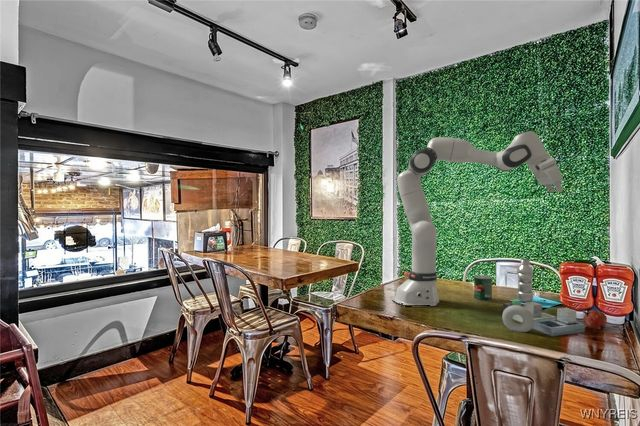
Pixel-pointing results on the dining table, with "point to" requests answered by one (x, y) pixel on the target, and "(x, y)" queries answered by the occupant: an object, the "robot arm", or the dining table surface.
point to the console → (509, 305)
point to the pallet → (557, 327)
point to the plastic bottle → (525, 281)
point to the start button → (516, 302)
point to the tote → (544, 317)
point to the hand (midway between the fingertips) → (556, 192)
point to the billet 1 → (534, 309)
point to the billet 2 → (566, 316)
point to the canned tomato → (483, 288)
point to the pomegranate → (595, 319)
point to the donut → (521, 311)
